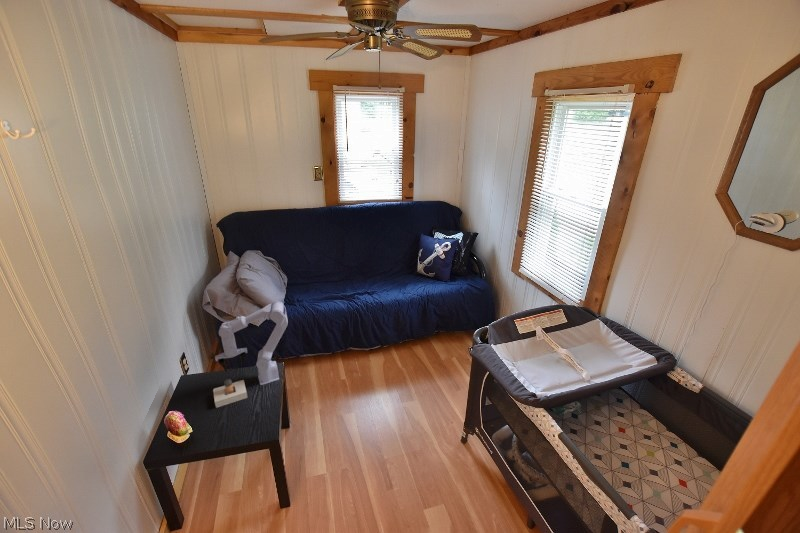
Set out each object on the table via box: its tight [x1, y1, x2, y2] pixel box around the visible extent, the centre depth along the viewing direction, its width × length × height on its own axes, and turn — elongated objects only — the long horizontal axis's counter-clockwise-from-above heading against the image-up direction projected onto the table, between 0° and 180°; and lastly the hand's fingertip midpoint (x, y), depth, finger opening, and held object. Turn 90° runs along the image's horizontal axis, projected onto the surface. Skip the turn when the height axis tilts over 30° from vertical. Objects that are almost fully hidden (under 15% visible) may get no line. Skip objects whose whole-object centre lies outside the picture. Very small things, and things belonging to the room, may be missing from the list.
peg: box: [223, 378, 234, 395], centre depth 178 cm, size 3×3×9 cm
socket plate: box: [212, 379, 248, 409], centre depth 179 cm, size 14×10×4 cm
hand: (234, 367), depth 185 cm, fingers open, 7 cm apart
